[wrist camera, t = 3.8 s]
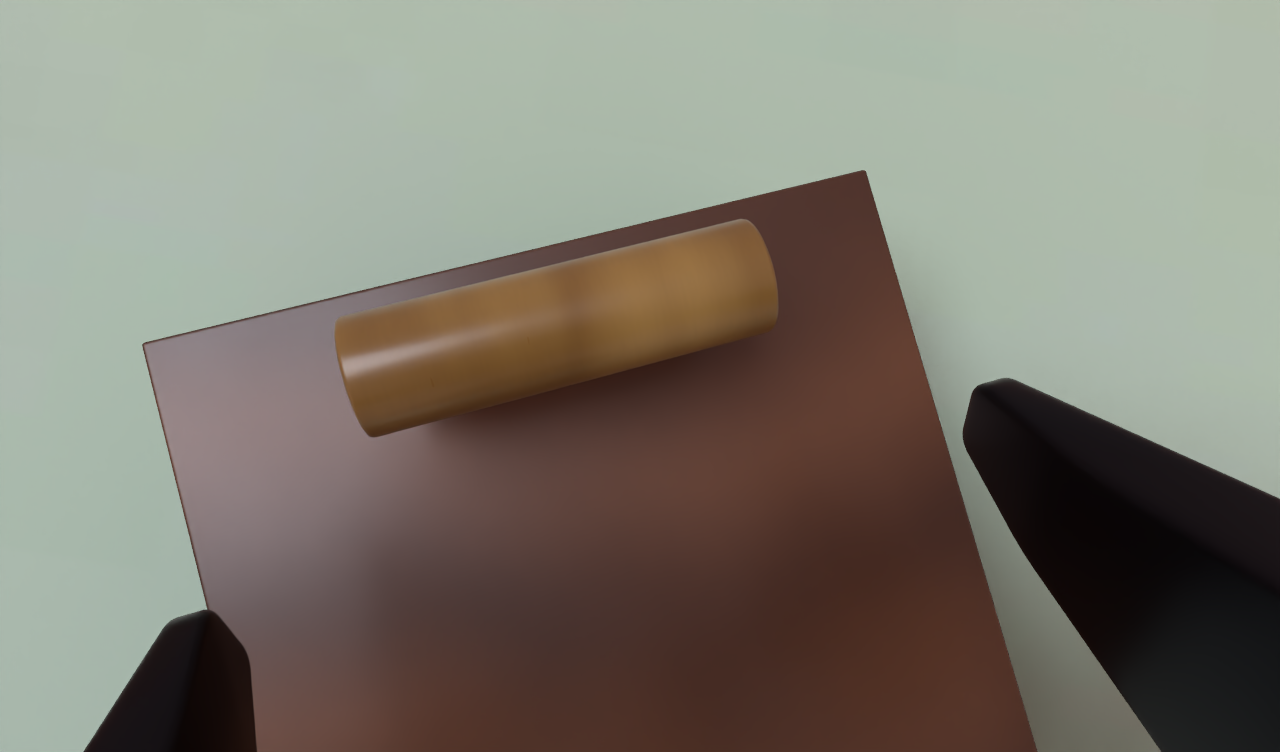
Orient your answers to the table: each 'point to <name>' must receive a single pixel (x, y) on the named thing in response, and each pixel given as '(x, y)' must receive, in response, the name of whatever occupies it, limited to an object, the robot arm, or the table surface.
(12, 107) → the table surface
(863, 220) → the box lid
